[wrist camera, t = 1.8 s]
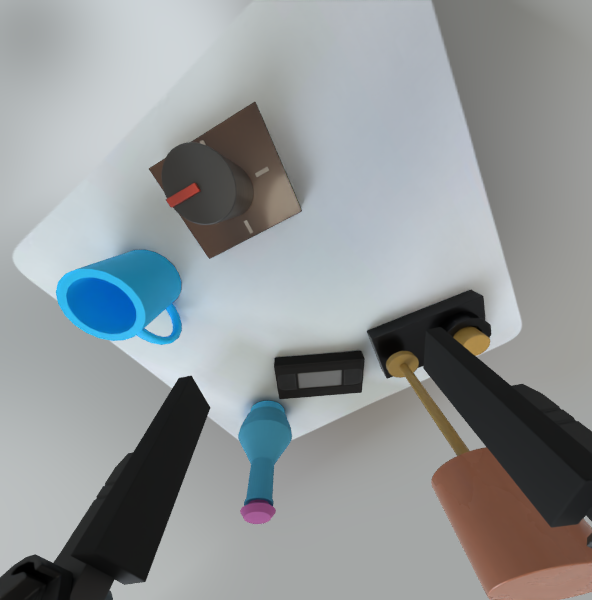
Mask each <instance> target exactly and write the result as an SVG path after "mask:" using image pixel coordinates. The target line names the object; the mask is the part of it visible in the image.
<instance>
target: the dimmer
mask: <svg viewBox="0 0 592 600" xmlns="http://www.w3.org/2000/svg"><path fill="white" fill-rule="evenodd" d="M161 178H162V185H163V189H164V192H165V195H166V197H167V199H166V201H167V202H168V204H169V205H170V207H173V208H174V209H175V210H176V211H177V212H178V213H179V214H180V215H181V216H182V217H184V218H185V219H187V220H189V221H191V222H193V223H196V224H200V225H212V224H216V223H219V222H222V221H225V220H228V219H231V218H234V217H237V216H240V215H242V214H243V213H245V212H246V211H247V210H248V209H249V207H250V205H251V203H252V200H253V186H252V183H251V180H250V178H249V176H248V175H247V174H246V172H245V171H244V170H243V169H242V168H241V167H239V166H238V165H236V164H235V163H233V162H232V161H230V160H229V159H227V158H226V157H224V156H223V155H221V154H220V153H218V152H217V151H215V150H214V149H212V148H211V147H208V146H206V145H204V144H201V143H195V142H189V143H184V144H181V145H178V146H177V147H175V148H174V149H172V150H171V151H170V153H169V154H168V155H167V157H166V158H165V161H164V163H163V167H162V174H161Z"/></svg>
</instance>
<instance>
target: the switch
mask: <svg viewBox="0 0 592 600" xmlns="http://www.w3.org/2000/svg"><path fill="white" fill-rule="evenodd" d="M453 338H454V339H456V340H457V341H458V342H459V343H460V344H462V345H463V346H464V347H465V348H466V349H468V350H469V351H470V352H471V353H472V354H474V355H475V356H476V355H479V354H481V353H483V352H484V351H485V350H486V349H487V348H488V347H489V345H490V339H489V337H488V336H486V335H485V334H484V333H482V332H481V331H479V330H478V329H476V328H475V327H465V328H462V329H460V330H459V331H458V332H457V333H456V334H455V335H454V337H453Z"/></svg>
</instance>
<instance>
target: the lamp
mask: <svg viewBox="0 0 592 600" xmlns="http://www.w3.org/2000/svg"><path fill="white" fill-rule="evenodd" d="M418 365H419V362H418V359H417V357H416V356H415V355H414V354H413V353H412V352H409V351H399V352H396V353H394V354H393V355H391V356H390V357H389V358H388V360H387V362H386V368H387V370H388V372H389V373H390V374H391V375H392V376H394V377H406V379H407V380H408V382H409V383H410V385H411V386H412V388H413V389H414V391H415V392H416V394H417V395H418V397H419V398H420V400H421V401H422V403H423V404H424V406H425V408H426V409H427V411H428V412H429V414H430V415H431V416H432V418H433V419H434V421H435V423H436V424H437V426H438V427H439V429H440V430H441V432H442V433H443V435H444V436H445V438H446V439H447V441H448V442H449V444H450V445H451V447H452V448H453V450H454V452H455V453H456V455H457V457H454V458H453V459H451V460H449V461H448V462H446V463H445V464H443V465H442V466H441V467H440V468H439V469H438V470H437V471H436V472H435V474H434V475H433V477H432V487H433V489H434V491H435V493H436V495H437V497H438V499H439V501H440V503H441V505H442V506H443V509H444V511H445V513H446V514H447V516H448V519H449V521H450V522H451V525H452V527H453V528H454V531H455V533H456V535H457V537H458V539H459V541H460V543H461V545H462V547H463V548H464V551H465V552H466V555H467V557H468V559H469V561H470V563H471V564H472V566H473V569H474V570H475V573H476V574H477V576H478V579H479V580H480V583H481V584H482V586H483V588H484V590H485V592H486V594H487V596H488V598H489V599H490V600H560V599H565V598H570V597H574V596H578V595H582V594H585V593H589V592H592V548H590V547H588V546H587V537H588V536H589V535H590V534H591V533H592V527H591V526H590V525H589V524H588V523H587V522H586V521H585V520H584V519H582V520H581V521H580V523H579V524H576V525H568V526H561V527H553V528H551V527H550V526H549V524H548V523H547V522H546V521H545V519H544V518H543V517H542V516H541V514H540V513H539V512H538V511H537V509H536V508H535V507H534V506H533V504H532V503H531V502H530V501H529V499H528V498H527V497H526V496H525V494H524V493H523V492H522V491H521V489H520V488H519V487H518V486H517V484H516V483H515V482H514V481H513V479H512V478H511V477H510V476H509V474H508V473H507V472H506V471H505V469H504V468H503V467H502V466H501V464H500V463H499V462H498V461H497V459H496V458H495V457H494V456H493V454H492V453H491V452H490V451H489V449H488V448H487V447H486V448H481V449H476V450H473V451H469V449H468V448H467V446H466V445H465V444H464V442H463V441H462V440H461V438H460V437H459V436H458V434H457V433H456V431H455V430H454V429H453V427H452V426H451V424H450V423H449V422H448V421H447V419H446V417H445V416H444V415H443V413H442V412H441V411H440V409H439V408H438V406H437V405H436V404H435V402H434V401H433V399H432V398H431V397H430V395H429V394H428V392H427V391H426V390H425V388H424V387H423V385H422V384H421V383H420V381H419V380H418V379H417V377H416V376H415V374H414V373H413V372H415V370H416V369H417V368H418Z"/></svg>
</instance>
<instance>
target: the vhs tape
mask: <svg viewBox="0 0 592 600" xmlns="http://www.w3.org/2000/svg"><path fill="white" fill-rule="evenodd" d="M274 368H275V375H276V381H277V388H278V394H279V399H288V398H300V397H312V396H324V395H337V394H349V393H361V392H362V383H363V370H364V357H363V354H362V352H361V351H354V352H342V353H329V354H317V355H305V356H293V357H281V358H275V363H274Z"/></svg>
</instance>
